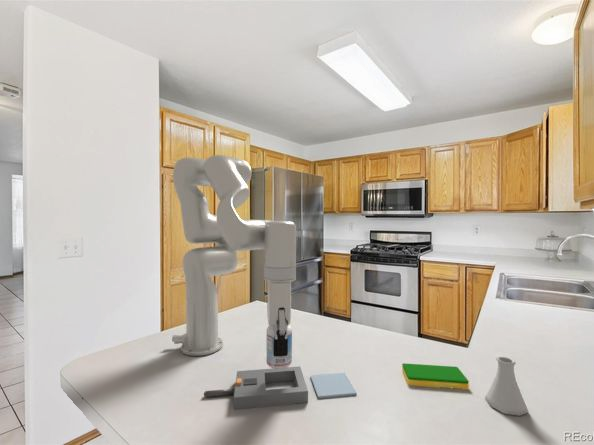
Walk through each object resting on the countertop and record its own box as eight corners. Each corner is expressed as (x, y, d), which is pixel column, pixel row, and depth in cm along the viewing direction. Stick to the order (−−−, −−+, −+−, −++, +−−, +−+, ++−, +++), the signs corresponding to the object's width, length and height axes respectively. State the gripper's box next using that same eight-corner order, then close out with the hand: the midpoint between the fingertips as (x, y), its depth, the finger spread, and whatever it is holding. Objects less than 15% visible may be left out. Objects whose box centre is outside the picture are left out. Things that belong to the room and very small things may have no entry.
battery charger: (199, 412, 61) (199, 397, 61) (207, 383, 72) (207, 370, 72) (308, 402, 64) (308, 388, 64) (300, 376, 75) (300, 364, 75)
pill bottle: (295, 359, 71) (295, 313, 71) (286, 372, 65) (286, 322, 65) (272, 355, 73) (273, 311, 73) (261, 367, 67) (262, 318, 67)
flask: (478, 396, 66) (478, 352, 66) (507, 395, 67) (507, 351, 67) (503, 418, 59) (503, 368, 59) (536, 416, 59) (536, 367, 59)
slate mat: (318, 398, 65) (318, 396, 65) (310, 377, 74) (310, 375, 74) (356, 394, 67) (356, 392, 67) (344, 374, 76) (344, 372, 76)
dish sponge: (402, 371, 78) (401, 362, 78) (457, 375, 76) (457, 366, 76) (408, 387, 71) (408, 377, 71) (469, 391, 69) (469, 381, 69)
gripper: (263, 267, 77) (262, 335, 77) (265, 281, 60) (264, 368, 60) (291, 266, 78) (290, 333, 78) (301, 280, 61) (300, 366, 61)
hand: (279, 348), depth 69 cm, fingers closed on pill bottle, 6 cm apart
